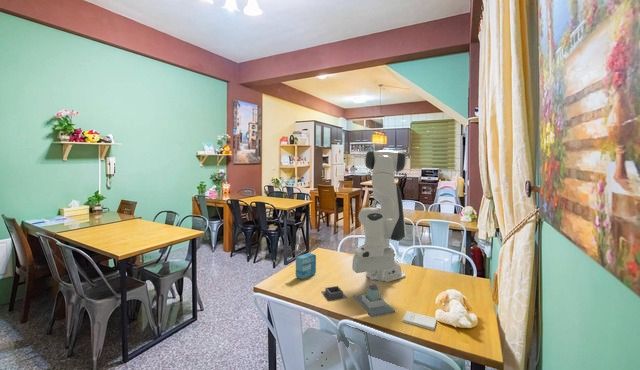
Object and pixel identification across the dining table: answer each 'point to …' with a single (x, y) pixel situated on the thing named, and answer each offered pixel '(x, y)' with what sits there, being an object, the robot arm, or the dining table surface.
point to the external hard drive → (420, 320)
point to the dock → (374, 306)
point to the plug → (372, 293)
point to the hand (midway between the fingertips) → (373, 278)
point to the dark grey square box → (333, 293)
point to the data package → (305, 265)
